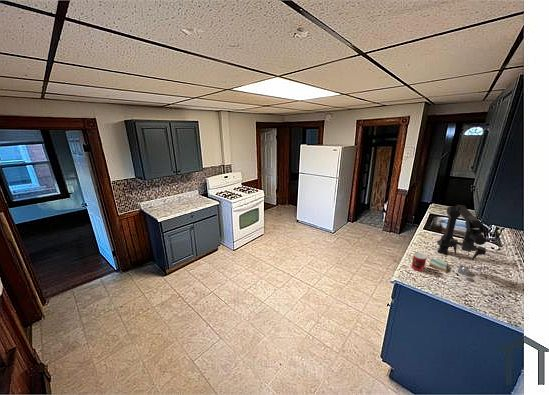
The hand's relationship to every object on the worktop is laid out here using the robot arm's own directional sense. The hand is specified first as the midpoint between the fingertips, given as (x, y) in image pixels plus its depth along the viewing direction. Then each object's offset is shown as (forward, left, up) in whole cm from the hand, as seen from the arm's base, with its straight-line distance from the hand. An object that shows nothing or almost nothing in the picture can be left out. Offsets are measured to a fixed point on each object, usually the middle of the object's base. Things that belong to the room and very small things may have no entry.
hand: (463, 256), depth 151 cm
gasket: (+6, +6, -13) cm, 15 cm away
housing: (-1, +2, -13) cm, 13 cm away
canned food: (+15, -23, -13) cm, 30 cm away
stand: (+2, -12, -12) cm, 17 cm away
